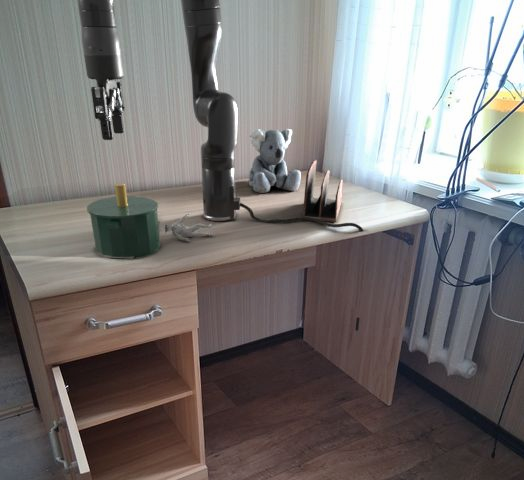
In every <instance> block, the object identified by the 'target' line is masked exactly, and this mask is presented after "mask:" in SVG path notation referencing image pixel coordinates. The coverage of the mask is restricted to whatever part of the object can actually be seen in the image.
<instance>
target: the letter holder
mask: <svg viewBox="0 0 524 480" xmlns="http://www.w3.org/2000/svg"><path fill="white" fill-rule="evenodd" d="M316 170H317V159H314V160H312V162H311V163H310V165H309V168H308V170H307V172H306V175H305V176H306V177H305V186H304V198H303V207H302V208H303V209H302V217H310V218H315V219H318V220H321V221H323V222H326V223H337V220H338V217H339V213H340V210H341V205H342V199H343V197H342V196H343V182H344V180H343V178H341V179H340V180H339V182H338V186H337V190H336V193H335V199H331V198H328V194H329V193H328V192H329V184H330V183H329V181H330V170H327V171H326V172H325V173H324V176H323V179H322V183H321V185H320V194H319V196H318V197H314V190H315V182H316Z"/></svg>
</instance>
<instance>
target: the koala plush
mask: <svg viewBox="0 0 524 480" xmlns="http://www.w3.org/2000/svg"><path fill="white" fill-rule="evenodd" d="M292 135H293V130H292V129H289V128H285V129H283V130H281V131H279V130H277V129H268V130H266V131H265V130H263V129H260V128H257V127H256V128H254V129H253V131H252V132H251V134H250V135H249V137H250V143H251V145H252V147H254V149H255V150H256V151H257V152H258V153H259V155H256V156H255V157H254V159H253V162H252V167H251V168H250V170H249V174H248V185H249V186H250V187H252V188H253V191H254V192H256V193H260V194H267V193H269V192H270V190H271V187H275V188H277V189H280V190H285V191H288V192H289V191H291V192H295V191H298V189H299V187H300V184H301V177H302V174H301V173H302V172H301V171H300V170H297V169H291V170H290V171H289V173H288V168H287V163H286V161H285V160H284V158H285V153H286V150H287V149H288V148H289V144H290V143H291V141H292Z"/></svg>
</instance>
